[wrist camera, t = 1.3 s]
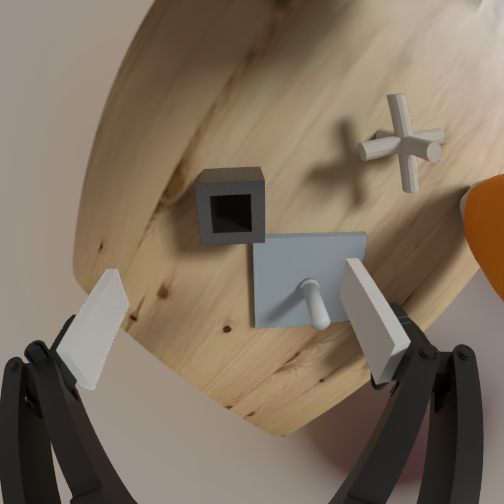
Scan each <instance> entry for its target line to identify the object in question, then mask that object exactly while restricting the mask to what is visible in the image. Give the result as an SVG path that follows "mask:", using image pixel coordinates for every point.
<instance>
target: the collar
mask: <svg viewBox="0 0 504 504" xmlns="http://www.w3.org/2000/svg"><path fill="white" fill-rule="evenodd" d="M195 192H196V202H197V212H198V221H199V230H200V238H201V245H225V244H250V243H265V180H264V177H263V174H262V171H261V168H260V167H239V168H219V169H204V170H203V171H202V173H201V174H200V176H199V178H198V179H197V181H196V182H195ZM239 194H250V209H244V210H221V211H218V207H217V196H218V195H239Z"/></svg>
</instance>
